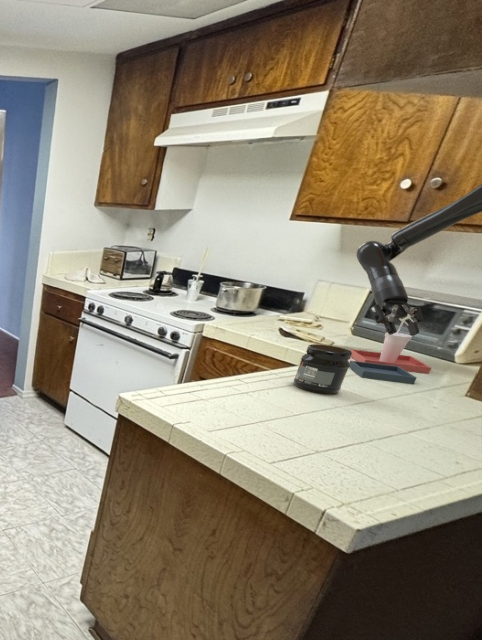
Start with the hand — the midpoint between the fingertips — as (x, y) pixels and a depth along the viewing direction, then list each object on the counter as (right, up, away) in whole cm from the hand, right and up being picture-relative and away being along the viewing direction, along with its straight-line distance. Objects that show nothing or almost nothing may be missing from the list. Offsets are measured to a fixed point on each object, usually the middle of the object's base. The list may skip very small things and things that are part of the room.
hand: (403, 333), depth 154 cm
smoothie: (0, -9, +6) cm, 11 cm away
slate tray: (-14, -14, -6) cm, 20 cm away
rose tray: (0, -10, +6) cm, 11 cm away
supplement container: (-45, -18, -18) cm, 52 cm away
